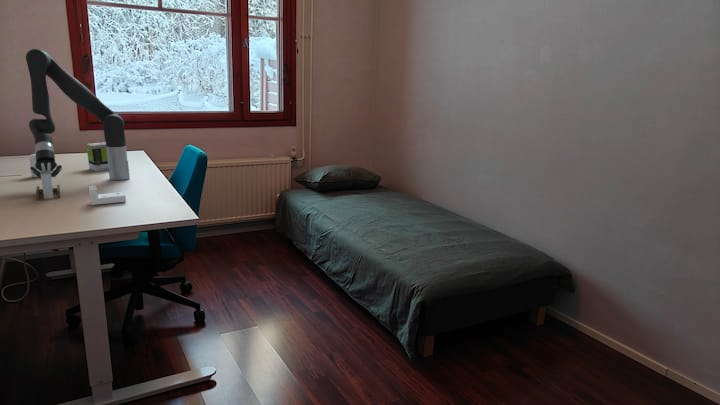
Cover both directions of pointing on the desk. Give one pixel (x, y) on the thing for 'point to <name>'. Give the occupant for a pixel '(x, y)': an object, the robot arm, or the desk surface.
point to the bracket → (105, 197)
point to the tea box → (97, 156)
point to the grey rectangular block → (47, 184)
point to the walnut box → (41, 196)
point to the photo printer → (32, 164)
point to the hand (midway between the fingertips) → (48, 184)
